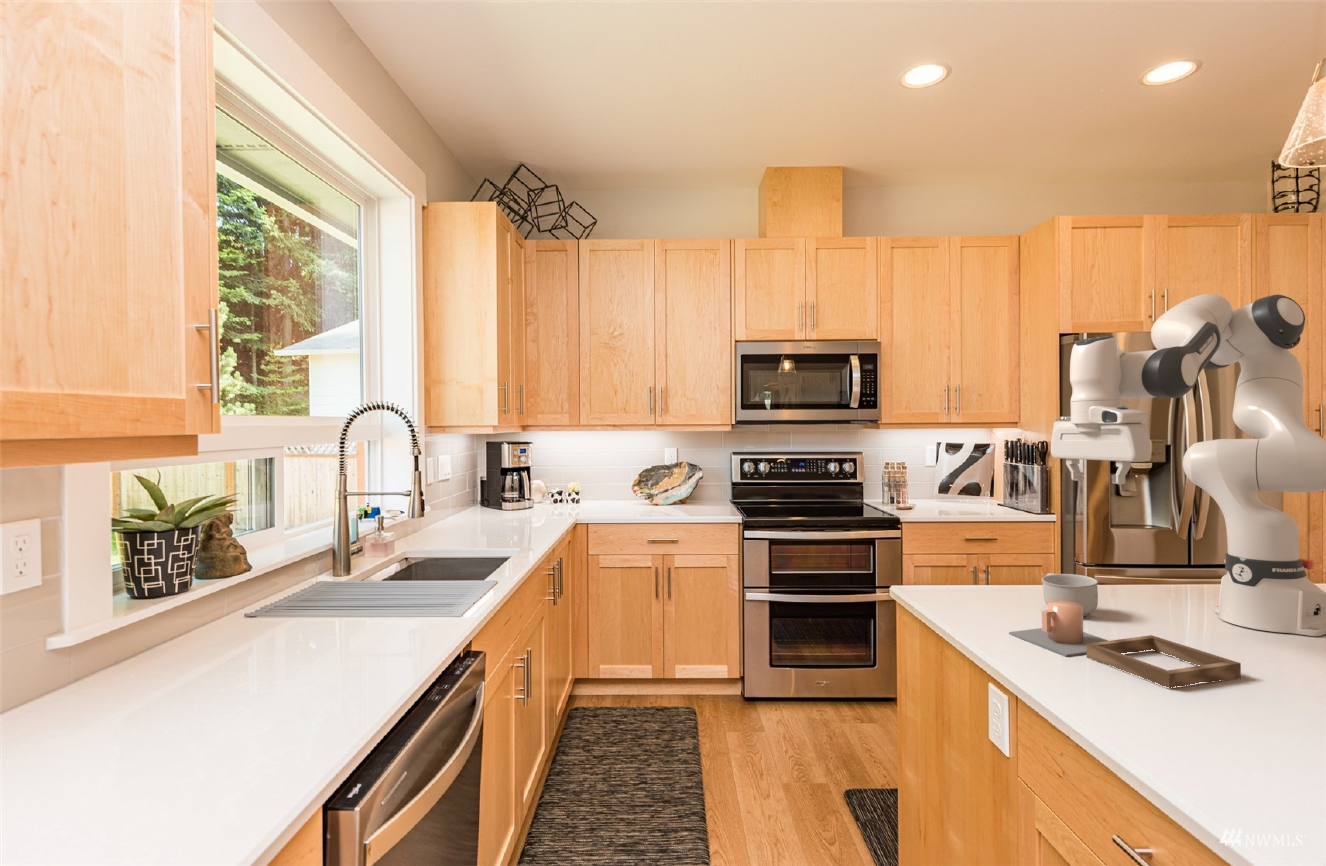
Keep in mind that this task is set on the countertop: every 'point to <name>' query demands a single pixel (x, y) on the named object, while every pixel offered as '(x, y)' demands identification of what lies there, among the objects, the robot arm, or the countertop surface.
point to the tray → (1206, 672)
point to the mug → (1063, 621)
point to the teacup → (1071, 590)
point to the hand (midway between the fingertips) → (1097, 482)
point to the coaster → (1063, 649)
